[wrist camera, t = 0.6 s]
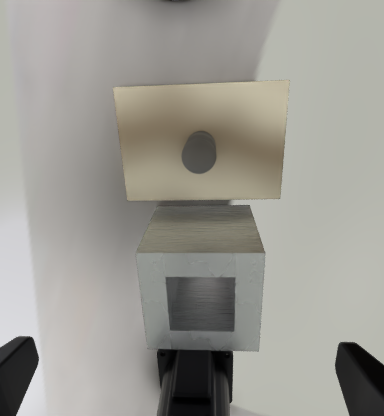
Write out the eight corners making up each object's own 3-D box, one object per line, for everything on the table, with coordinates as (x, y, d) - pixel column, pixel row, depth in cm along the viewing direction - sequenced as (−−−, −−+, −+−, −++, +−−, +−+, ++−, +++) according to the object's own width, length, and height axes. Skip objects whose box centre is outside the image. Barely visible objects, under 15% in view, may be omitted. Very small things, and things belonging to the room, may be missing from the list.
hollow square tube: (246, 282, 22) (258, 351, 16) (164, 281, 23) (147, 348, 17) (249, 205, 20) (265, 253, 14) (157, 206, 20) (135, 253, 15)
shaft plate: (276, 193, 20) (296, 224, 15) (131, 195, 20) (107, 226, 16) (285, 80, 17) (312, 76, 12) (118, 87, 18) (85, 86, 13)
